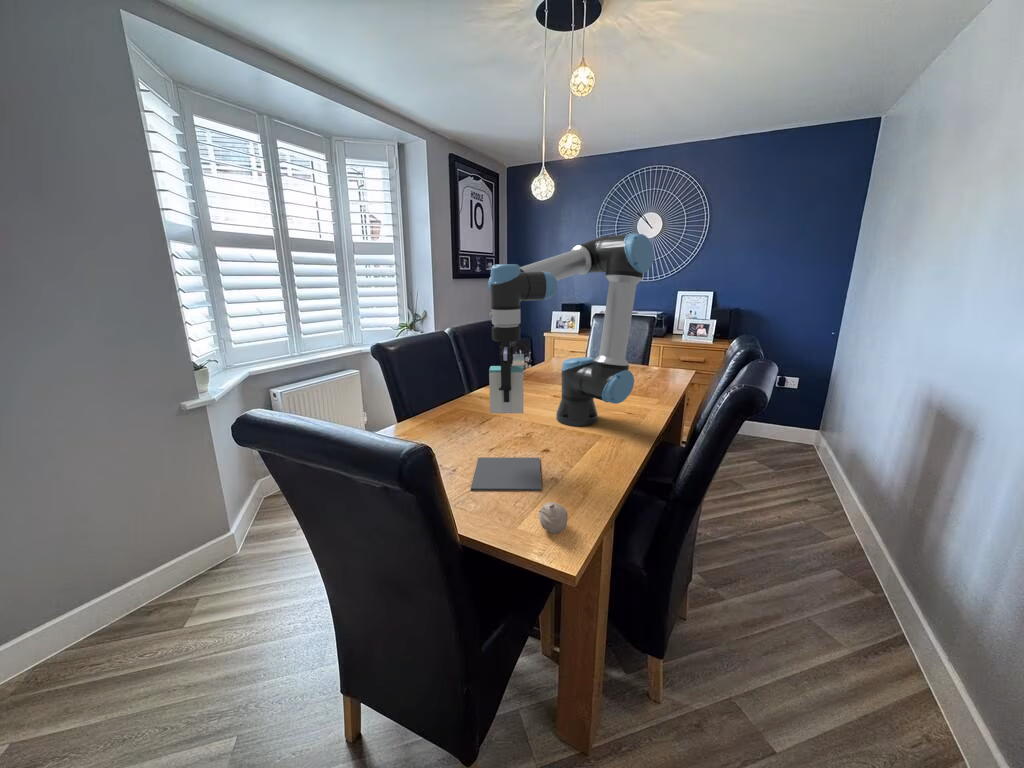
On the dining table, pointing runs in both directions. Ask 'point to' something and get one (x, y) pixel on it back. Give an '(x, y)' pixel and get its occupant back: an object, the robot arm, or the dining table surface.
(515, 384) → the grey teal block
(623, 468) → the dining table surface
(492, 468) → the rubber mat
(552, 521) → the garlic bulb
